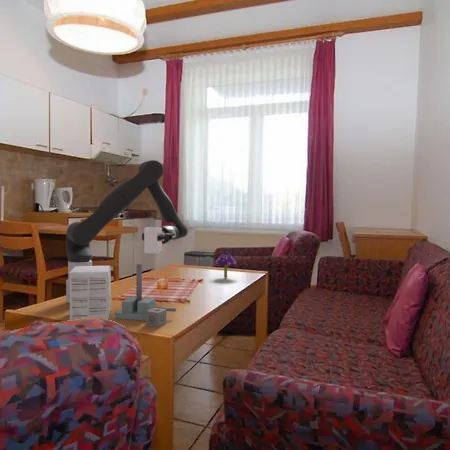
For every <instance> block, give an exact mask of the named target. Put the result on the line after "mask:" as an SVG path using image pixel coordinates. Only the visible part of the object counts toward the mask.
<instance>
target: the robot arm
mask: <svg viewBox="0 0 450 450" xmlns="http://www.w3.org/2000/svg"><path fill="white" fill-rule="evenodd" d="M164 170H165V168H164V165H163V164H162V162H160V161H159V160H155V159H150V160H146V161H144V162H142V163H140V165H139V166H138V173H137V174H136V175H134V176H133V177H131V178H130V179H128V180H126V181H125V182H124V183H122V184H120V185H118V186H117V187H115V188H114V189H112V191H110V193H107V195H106V196H105V197H103V198H104V199H103V200H102V201H101V202H100V203H99V205H98V207H97V208H96V210H94V212H93V213H91V214H90V215H89V216H87V217H86V218H85V219H84V220H82V221H76V222H72V223H71V224H69V226H68V227H67V228H66V234H65V235H66V236H65V240H66V243H65V244H66V255H67V258H68V259H67V263H68V264H67V265H68V266H67V267H68V269H67V271H68V272H67V273H68V275H67V276H68V279H67V278H66V281H65V285H66V287H65V290H66V291H65V292H66V293H65V298H66V301H65V303H66V304H67V303H68V304H70V287H69V272H70V271H71V270H72V269H73V268H74V267H75V266H93V254H92V252H91V249H90V243H91V242H92V241H93V240H94V239H95V238H96V236H97V235H99V234H100V232H101V231H102V230H103V229H104V228H105V227H106V226H107V225H108V224H109V223H110V222H112V221H113V220H114V219H116V217H118V216H119V215H120V214H121V213H122V212H124V210H126V208H128V207H129V206H130V205H131V204H132V203H133V202H135V200H136V199H137V198H138V197H140V196H141V194H142V193H143V192H144V191H145V190H146V189H147V190H148V191H149V193H150V195H151V196H152V198H153V200H154V202H155V204H156V206H157V209H158V211H159V213H160V216H161V217H162V220H163V221H164V223H173V224H172V225H162V226H161V227H162V234H161V235H158V236H157V241H161V240H162V245H165V244H168V243H170V242H172V241H176V240H179V239H182V238H185V237H186V236H188V231H189V230H188V228H187V225H186V224H185V222H183V220H182V219H181V217H180V216H179V215H178V213H177V211H176V208H175V206H174V204H173V201H172V200H171V198H170V197H169V196H168V195H167V194H166V192H165V190H164V189H163V188H162V186H161V184H160V182H159V179H161V178H162V176H163V174H164V172H165V171H164ZM141 240H142V241H144V232H142V233H141Z"/></svg>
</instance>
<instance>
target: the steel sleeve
mask: <svg viewBox="0 0 450 450" xmlns="http://www.w3.org/2000/svg"><path fill="white" fill-rule="evenodd" d="M143 231H144V232H143V233H144V243H143V244H144V246H143V247H144V248H143V250H144V251H143V252H144V254H159V253H162V252H163V244H162V240H161V241H157V236H158V235H161V234H162V226H149V227H143Z"/></svg>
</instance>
